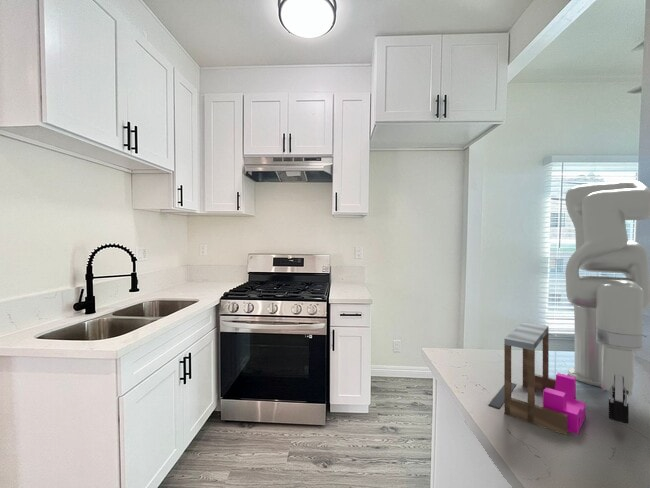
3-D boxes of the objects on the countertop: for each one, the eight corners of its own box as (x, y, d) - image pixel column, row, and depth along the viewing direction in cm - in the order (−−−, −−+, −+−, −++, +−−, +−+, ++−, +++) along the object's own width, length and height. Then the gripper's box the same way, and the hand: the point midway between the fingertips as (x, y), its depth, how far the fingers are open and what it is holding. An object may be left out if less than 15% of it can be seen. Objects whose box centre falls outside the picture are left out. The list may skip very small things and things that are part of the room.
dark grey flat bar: (506, 382, 92) (506, 381, 92) (516, 385, 90) (516, 384, 90) (488, 405, 79) (488, 404, 79) (499, 409, 77) (499, 407, 77)
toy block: (577, 435, 67) (577, 401, 67) (543, 422, 72) (542, 390, 72) (588, 410, 77) (588, 380, 77) (557, 400, 82) (557, 372, 82)
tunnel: (523, 384, 90) (523, 322, 90) (575, 398, 82) (575, 330, 82) (504, 414, 75) (504, 338, 75) (566, 435, 67) (566, 350, 67)
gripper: (597, 328, 77) (597, 401, 77) (595, 342, 66) (594, 428, 66) (640, 334, 72) (639, 412, 72) (645, 351, 61) (645, 443, 61)
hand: (618, 419), depth 69 cm, fingers closed
